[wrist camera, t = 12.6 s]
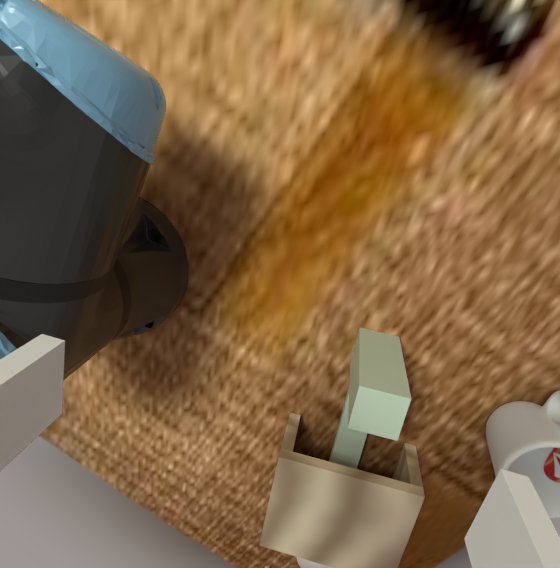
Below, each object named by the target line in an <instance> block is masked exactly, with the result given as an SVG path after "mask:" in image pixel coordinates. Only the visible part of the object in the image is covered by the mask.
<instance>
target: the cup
mask: <svg viewBox="0 0 560 568" xmlns="http://www.w3.org/2000/svg"><path fill="white" fill-rule="evenodd" d="M486 440H487V444H488V448H489V452H490V456H491V460H492V464H493V467H494V471H495V475H496V477H497V475H498V473H499V471H500V469H503V470H507V471H510V472H513V473H517V474H520V475H524V476H527V477H529V479H530V481H531V483H532V484H533V486H534V488H535V490H536V492H537V494H538V496H539V498H540V500H541V502H542V504H543V506H544V508H545V510H546V512H547V514H548V516H549V518H560V390H559V391H556V392H554V393H553V394H552V395H551V396H550V397H549V399H548V400H547V401H546V403H545V404H544V405H543V406H540V405H538V404H535V403H532V402H527V401H514V402H510V403H506V404H504V405H502V406H500V407H499V408H497V409H496V410H495V411H494V412H493V413H492V414H491V415H490V417H489V419H488V421H487V424H486Z"/></svg>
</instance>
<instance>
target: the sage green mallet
mask: <svg viewBox="0 0 560 568" xmlns="http://www.w3.org/2000/svg"><path fill="white" fill-rule="evenodd" d="M410 402H411V394H410V389H409V384H408V379H407V374H406V369H405V364H404V359H403V354H402V348H401V343H400V338H399V337H398V336H394V335H389V334H385V333H381V332H377V331H372V330H368V329H364V328H359V332H358V336H357V340H356V343H355V347H354V351H353V355H352V358H351V364H350V384H349V388H348V392H347V395H346V399H345V403H344V406H343V410H342V414H341V417H340V421H339V425H338V428H337V432H336V436H335V439H334V443H333V447H332V451H331V454H330V458H329V462H332V463H336V464H340V465H343V466H347V467H351V468H354V469H357V466H358V463H359V460H360V456H361V453H362V450H363V447H364V443H365V440H366V437H367V433H369V434H373V435H377V436H381V437H384V438H388V439H392V440H396V441H397V440H398V437H399V435H400V432H401V429H402V426H403V423H404V420H405V417H406V414H407V411H408V408H409V405H410Z"/></svg>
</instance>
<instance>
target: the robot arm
mask: <svg viewBox="0 0 560 568" xmlns="http://www.w3.org/2000/svg"><path fill="white" fill-rule="evenodd" d="M165 111H166V101H165V96H164V93H163V90H162V88H161V86H160V84H159V83H158V81H157V80H156V79H155V78H154V77H153V76H152V75H151V74H150V73H149V72H147V71H146V70H145V69H143V68H142V67H140V66H139V65H138V64H136V63H135V62H133V61H132V60H130V59H129V58H127V57H126V56H124V55H123V54H121V53H120V52H118V51H117V50H115V49H114V48H112V47H110V46H109V45H107V44H106V43H104V42H103V41H101V40H100V39H98V38H97V37H95V36H93V35H92V34H90V33H89V32H87V31H86V30H84V29H82V28H81V27H79V26H78V25H76V24H75V23H73V22H71V21H70V20H68V19H67V18H65V17H64V16H62V15H61V14H59V13H57V12H56V11H54V10H53V9H51V8H49V7H48V6H46V5H45V4H43V3H41V2H40V1H38V0H0V471H1V470H2V469H3V468H4V467H5V466H6V465H7V464H8V463H9V462H10V461H12V460H13V459H14V458H15V457H16V456H17V455H18V454H19V453H20V452H21V451H22V450H23V449H24V448H26V447H27V446H28V445H29V444H30V443H31V442H32V441H33V440H34V439H35V438H36V437H37V436H39V435H40V434H41V433H42V432H43V431H44V430H45V429H46V428H47V427H48V426H49V425H50V424H51V423H53V422H54V421H55V420H56V419H57V418H58V417H59V416H60V415H61V414H62V399H63V380H64V379H66V378H67V377H68V376H69V375H70V374H72V373H73V372H74V371H75V370H77V369H78V368H79V367H80V366H81V365H83V364H84V363H85V362H86V361H88V360H89V359H90V358H91V357H92V356H94V355H95V354H96V353H97V352H99V351H100V350H101V349H102V348H103V347H105V346H106V345H107V344H108V343H110V342H111V341H112V340H116V339H120V338H125V337H129V336H133V335H138V334H141V333H144V332H147V331H149V330H151V329H153V328H154V327H156V326H158V325H159V324H160V323H162V322H163V321H164V320H165V319H166V318H167V317H168V316H169V315H170V314H172V313H173V311H174V310H175V309H176V308H177V307H178V305H179V304H180V302H181V300H182V298H183V296H184V293H185V290H186V286H187V281H188V263H187V257H186V253H185V249H184V246H183V244H182V241H181V239H180V237H179V235H178V233H177V232H176V230H175V228H174V227H173V225H172V224H171V223H170V222H169V220H168V219H167V218H166V217H165V216H164V215H163V214H162V213H161V212H160V211H159V210H158V209H156V208H155V207H154V206H153V205H151V204H150V203H148V202H146V201H145V200H143V199H141V198H139V195H140V192H141V189H142V186H143V184H144V181H145V178H146V175H147V173H148V170H149V167H150V164H154V161H155V155H154V149H155V146H156V142H157V139H158V136H159V132H160V129H161V125H162V122H163V119H164V115H165ZM464 540H465V544H466V547H467V551H468V555H469V558H470V562H471V565H472V568H560V538H559V535H558V533H557V532H556V530H555V528H554V526H553V524H552V522H551V520H550V518H549V516H548V514H547V512H546V510H545V508H544V506H543V504H542V502H541V500H540V498H539V496H538V494H537V492H536V490H535V488H534V486H533V484H532V483H531V481H530V479H529V477H527V476H524V475H520V474H517V473H513V472H510V471H507V470H503V469H500V471H499V473H498V475H497V477H496V479H495V481H494V482H493V484H492V486H491V488H490V490H489V492H488V494H487V496H486V498H485V500H484V502H483V504H482V505H481V507H480V509H479V511H478V513H477V515H476V517H475V519H474V521H473V523H472V525H471V527H470V528H469V530H468V532H467V534H466V536H465V538H464Z"/></svg>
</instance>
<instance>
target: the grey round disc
mask: <svg viewBox="0 0 560 568" xmlns="http://www.w3.org/2000/svg"><path fill="white" fill-rule="evenodd" d="M297 562H298V564H299V566H300V567H301V568H332V567H329V566H326V565H322V564H319V563H316V562H312V561H309V560H306V559H302V558H299V557H297Z"/></svg>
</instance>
